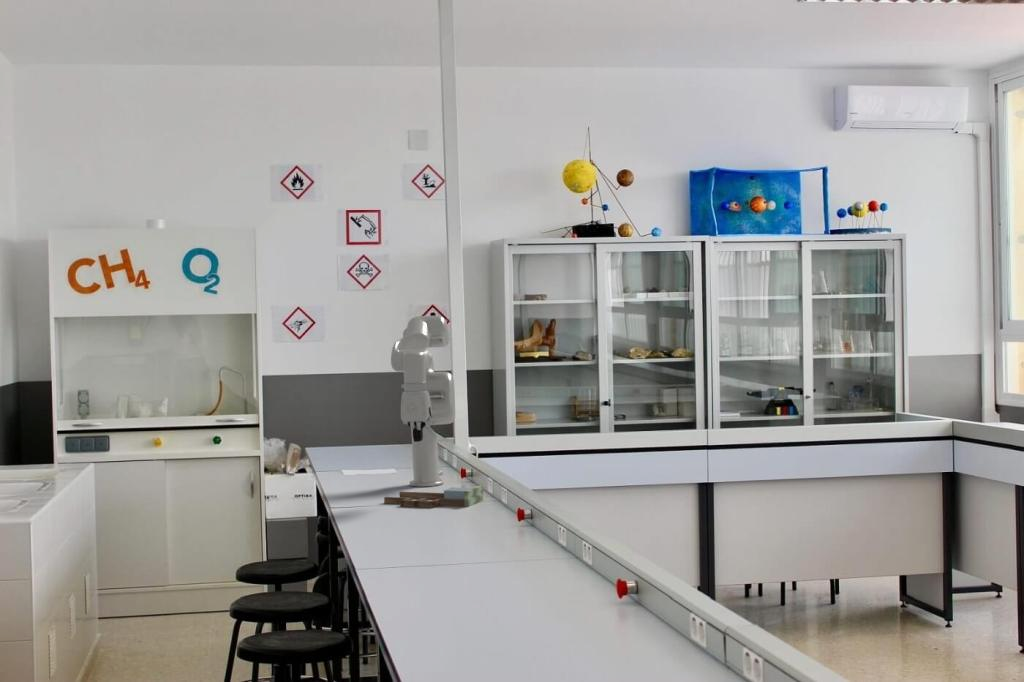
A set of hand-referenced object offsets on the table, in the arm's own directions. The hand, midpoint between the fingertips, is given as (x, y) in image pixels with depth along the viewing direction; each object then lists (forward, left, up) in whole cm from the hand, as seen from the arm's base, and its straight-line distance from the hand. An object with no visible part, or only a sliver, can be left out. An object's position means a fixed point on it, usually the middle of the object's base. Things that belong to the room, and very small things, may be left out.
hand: (418, 441), depth 377 cm
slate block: (+4, +17, -20) cm, 27 cm away
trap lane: (+5, +6, -20) cm, 22 cm away
